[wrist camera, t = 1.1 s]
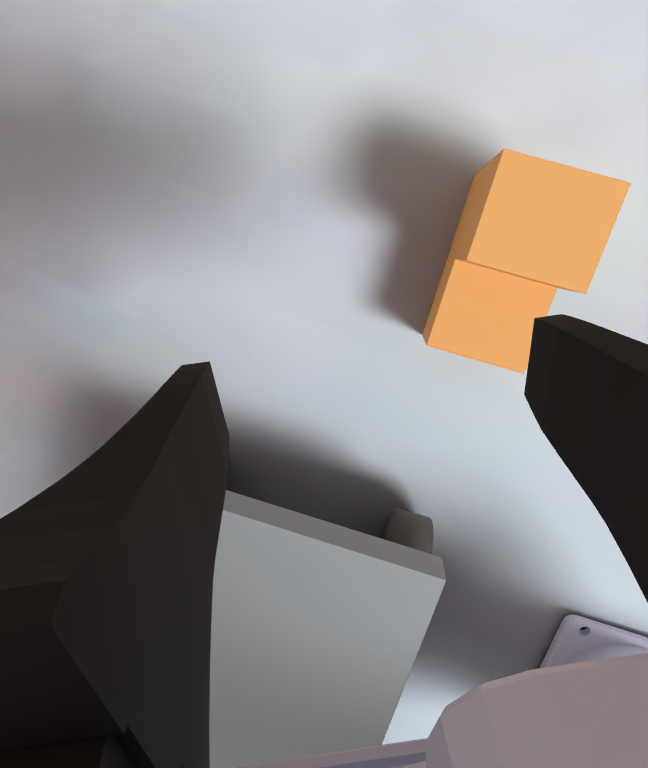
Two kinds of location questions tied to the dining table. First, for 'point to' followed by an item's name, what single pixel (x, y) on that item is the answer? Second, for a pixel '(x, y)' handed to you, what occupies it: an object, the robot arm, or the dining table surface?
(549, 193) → the orange block
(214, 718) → the toy platform cart
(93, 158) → the dining table surface
